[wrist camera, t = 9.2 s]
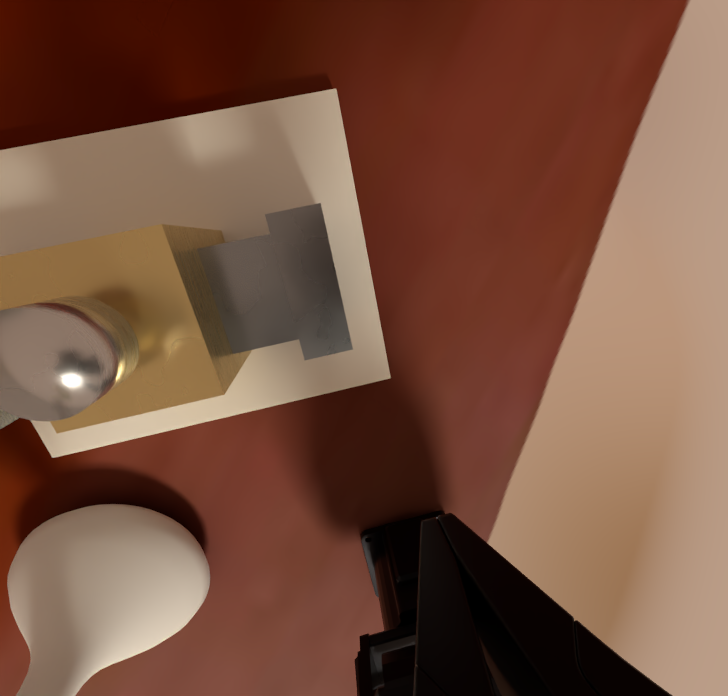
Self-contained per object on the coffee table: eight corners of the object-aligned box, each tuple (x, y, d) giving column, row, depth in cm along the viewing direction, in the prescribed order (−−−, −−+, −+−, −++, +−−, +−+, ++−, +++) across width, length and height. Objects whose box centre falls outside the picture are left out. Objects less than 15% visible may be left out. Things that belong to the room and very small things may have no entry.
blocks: (344, 322, 19) (357, 363, 13) (54, 387, 18) (-90, 467, 12) (319, 210, 17) (319, 192, 11) (-6, 277, 16) (-218, 300, 10)
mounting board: (387, 372, 21) (390, 378, 21) (65, 447, 20) (52, 458, 19) (335, 97, 17) (336, 88, 16) (-90, 175, 16) (-117, 171, 15)
